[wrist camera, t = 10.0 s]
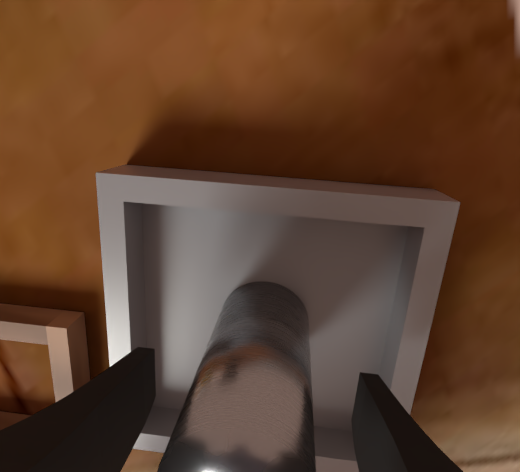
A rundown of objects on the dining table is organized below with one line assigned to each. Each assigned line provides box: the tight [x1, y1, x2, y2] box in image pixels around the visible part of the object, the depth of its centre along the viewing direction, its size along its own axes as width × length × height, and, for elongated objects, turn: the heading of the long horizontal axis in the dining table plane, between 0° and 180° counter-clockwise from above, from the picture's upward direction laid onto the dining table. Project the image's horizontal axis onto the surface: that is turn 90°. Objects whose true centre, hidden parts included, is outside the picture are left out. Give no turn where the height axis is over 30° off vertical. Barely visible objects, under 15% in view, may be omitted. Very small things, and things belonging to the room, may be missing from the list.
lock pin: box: [158, 281, 316, 472], centre depth 13 cm, size 4×4×8 cm
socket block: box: [0, 303, 91, 430], centre depth 19 cm, size 8×8×2 cm
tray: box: [96, 165, 461, 472], centre depth 16 cm, size 13×13×2 cm
